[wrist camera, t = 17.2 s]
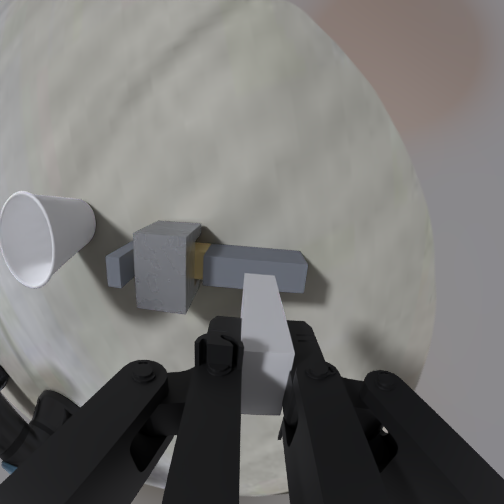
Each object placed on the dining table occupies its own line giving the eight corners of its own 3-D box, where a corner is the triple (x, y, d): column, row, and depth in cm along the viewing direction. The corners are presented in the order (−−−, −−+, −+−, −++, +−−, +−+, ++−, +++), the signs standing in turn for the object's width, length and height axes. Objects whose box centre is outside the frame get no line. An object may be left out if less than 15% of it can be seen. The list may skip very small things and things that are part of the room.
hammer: (138, 261, 31) (108, 286, 23) (137, 237, 30) (105, 256, 23) (296, 276, 31) (309, 306, 24) (299, 251, 31) (314, 275, 23)
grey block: (159, 282, 31) (137, 307, 24) (158, 220, 29) (133, 232, 22) (199, 286, 31) (185, 314, 25) (201, 223, 29) (186, 236, 23)
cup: (81, 272, 32) (31, 305, 21) (44, 218, 30) (-10, 234, 19) (123, 226, 30) (70, 250, 19) (81, 167, 28) (22, 169, 17)
